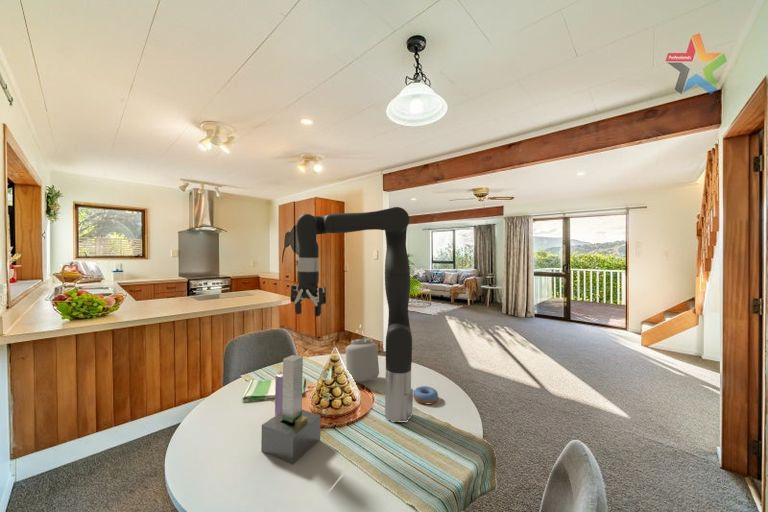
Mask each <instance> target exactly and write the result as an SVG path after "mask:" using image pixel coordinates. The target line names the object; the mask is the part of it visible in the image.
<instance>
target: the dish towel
mask: <svg viewBox="0 0 768 512" xmlns="http://www.w3.org/2000/svg"><path fill="white" fill-rule="evenodd" d="M305 379H306V378H305V376H304V377H303V376H302V394H303V395H304V394H305V388H304V386H305ZM271 400H275V379H263V380H262V379H261V380H260V379H250V382H249V384H248V386H247V387H246V389H245V392H244V394H243V396H242V401H241V403H247V402H249V403H250V402H258V401H259V402H260V401H271Z"/></svg>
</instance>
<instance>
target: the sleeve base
mask: <svg viewBox="0 0 768 512" xmlns="http://www.w3.org/2000/svg"><path fill="white" fill-rule="evenodd" d="M321 417H322V416H321V414H317V413H314V412H311V411H308V410H304V409H302V416H301V417H299V418H298V419H297V420H295V421H294V422H293V423H292V422H289V421H286V420H283V419H282V412H281V413H280V414H278V415H277V416H275V415H274V416H273V417H272V418H271V419H268V420H267V421H266V422H264V423H262V424H261V444H260V445H261V447H260V449H261V450H260V451H261V452H262V453H264V454H266V455H268V456H271V457H274V458H277V459H279V460H280V461H283V462H285V463H289V464H290V465H292V466H293V465H294V464H295V463H296V462H298V461H299V460H300V459H301V458H302V457H304V455H306V453H308V452H309V451H310V450H312V449H313V448H314V447H315V445H316V444H318V443H319V442H321V421H322V420H321Z"/></svg>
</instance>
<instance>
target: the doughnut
mask: <svg viewBox="0 0 768 512" xmlns="http://www.w3.org/2000/svg"><path fill="white" fill-rule="evenodd" d="M438 399H439V393H438V391H437V390H436V389H435V388H433V387H431V386H427V385H425V386H424V385H421V386H418V387H416V388H415V389H414V390H413V400H415V401H416V402H417V401H418V402H417V403H419V402H421V403H420V404H422V403H432V404H434V403H436V402H435V401H436V400H437V401H438ZM433 402H434V403H433Z"/></svg>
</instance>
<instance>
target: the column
mask: <svg viewBox="0 0 768 512" xmlns="http://www.w3.org/2000/svg"><path fill="white" fill-rule="evenodd" d="M303 359H304V357H303V356H299V355H295V354H292V355H289V356H287V357H284V358H283V359H282V371H283V402H282V419H283V420H286V421H289V422H292V423H293V422H294V421H295V420H297V419H298V418H299V417H301V416H302V410H303V396H302V377H303V374H304V373H303V367H304V366H303V365H304V364H303V363H304V362H303V361H304V360H303Z"/></svg>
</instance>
